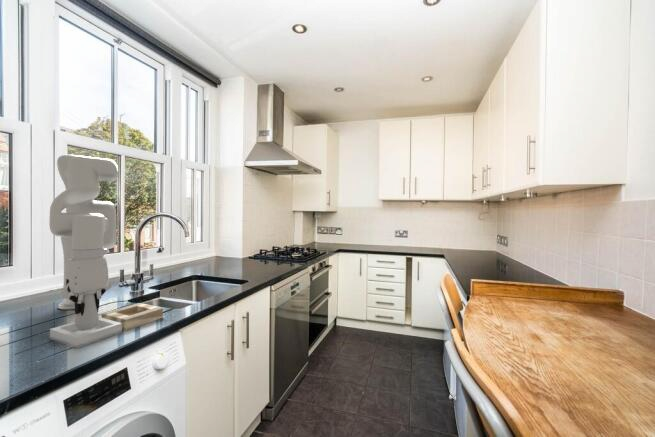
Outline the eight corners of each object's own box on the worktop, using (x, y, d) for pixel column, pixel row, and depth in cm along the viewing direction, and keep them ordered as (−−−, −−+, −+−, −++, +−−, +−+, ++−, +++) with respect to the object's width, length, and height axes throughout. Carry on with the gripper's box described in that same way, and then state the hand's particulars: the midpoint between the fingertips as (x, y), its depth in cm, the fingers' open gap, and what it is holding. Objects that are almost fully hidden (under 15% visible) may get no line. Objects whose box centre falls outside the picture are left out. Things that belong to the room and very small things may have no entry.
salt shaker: (84, 333, 85) (85, 289, 84) (69, 330, 86) (69, 288, 86) (103, 325, 90) (104, 284, 90) (89, 323, 92) (89, 283, 91)
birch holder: (101, 323, 98) (101, 313, 97) (139, 311, 109) (139, 302, 109) (125, 330, 92) (126, 319, 92) (162, 317, 104) (162, 308, 104)
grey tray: (50, 338, 85) (50, 328, 85) (95, 324, 96) (95, 316, 96) (76, 348, 80) (76, 338, 80) (121, 332, 91) (122, 323, 91)
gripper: (109, 250, 97) (108, 304, 97) (46, 256, 82) (46, 320, 82) (123, 252, 94) (122, 307, 94) (61, 259, 79) (60, 325, 79)
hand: (87, 312), depth 88 cm, fingers closed on salt shaker, 3 cm apart
